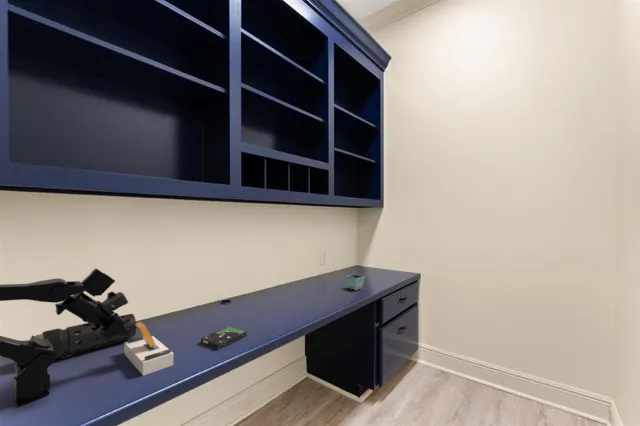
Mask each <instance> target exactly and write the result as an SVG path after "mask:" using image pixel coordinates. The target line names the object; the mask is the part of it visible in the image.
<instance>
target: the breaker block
mask: <svg viewBox="0 0 640 426" xmlns="http://www.w3.org/2000/svg"><path fill="white" fill-rule="evenodd" d="M150 335H151V337H152V339H153V340H154V342H155V346H156V348H155V349H153V348H152V347H150V346H149V345H148V344H147V343H146V342H145V340H144V339H143V337H142V335H140V336H138V337H132V338H131V339H129V340H127V341H125V342H124V346H123V347H124V348H123V349H124V350H123V351H124V356H126V358H127V359H128V360H129V361H130V363H131V364H132V365H133V366H134V367H135V368H136V369H137V371H138V372H139V373H140V374H141V375H142V376H146V375H150V374H151V373H152V374H153V373H155V372H157V371H160V370H163V369H166V368H169V367H171V366H174V352H173V351H172V349H171V348H168V347H167V346H166V345H165V344H163V343H162V342H161V341H159V339H157V338H156V337H155V336H154V335H153V333H150Z"/></svg>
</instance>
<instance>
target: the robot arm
mask: <svg viewBox="0 0 640 426" xmlns="http://www.w3.org/2000/svg"><path fill="white" fill-rule="evenodd" d="M115 282H116V280H115V279H114V278H112V277H111V276H109V275H108V274H107V273H105V272H102V271H101V270H100V269H98V268H94V269H92V271H91V272H90V274H88V275H87V276H86V277H85V278H84V279H82V281H77V280H75V281H71V280H70V281H66V280H65V279H63V278H51V279H45V280H44V279H43V280H39V281H35V282H30V283H29V282H28V283H11V284H10V283H8V284H7V283H6V284H0V302H3V301H4V302H5V301H22V300H23V301H24V300H25V301H26V300H27V301H34V302H42V303H55V304H54V306H55V313H56V315H57V316H60V315H61V314H63V312H64V311H65V310H66V311H68V312H69V313H71V314H72V315H74V316H76V317H77V318H80V319H81V320H82V322H85V323H89V324H91V325H93V326H94V327H95V328H96V329H99V328H100V327H101V335H102V336H103V337H104V338H106V339H107V340H110V339H111V338H112V337H113V336H114V335H121V336H128V335H129V334H130V332H129V331H128V330H127V329H126V328H125V327H124V326H123V325H124V324H125V323H126V321H125V320H124V319H123V318H122V317H121V316H122V315H119V314H118V313H117V312H115V311H117V309H119V308H121V307H123V306H125V305H127V304H129V300H128V298H127V297H126V295H125V294H124V293H123V292H122V291H120V292H119V291H118V292H117V293H116V292H114V291H110V292H108V293H107V294H106V295H107V296H106V299H105V300H103V301H102V302H101V301H100V300H95V299H94V298H92V297H99V296H102V295H103V294H104V293H105V292H106V291H107V290H108V289H109V288H110V287H111V286H112V285H113V284H114V283H115ZM85 292H86V293H87V294H89V295H90V296H92V297H90V296H89V295H87V294H86V293H85ZM0 357H1V358H6V359H10V360H11V361H13V362H15V363H16V364H15V365H14V367H15V369H14V370H15V376H13V378H12V395H11V396H10V400H11V401H12V402H13V404H14V405H15V406H16V407H22V406H23V405H25V404H26V405H27V404H28V403H31V402H35V401H36V400H39V399H42V398H45V397H47V396H49V395H50V394H51V392H50V389H51V375H50V373H48V372H49V370H48V368H49V367H50V366H53V365H52V364H54V363H55V361H56V359H57V358H56V352H55V350H54V348H53V345H52V344H51V343H49V340H48V339H40V338H38V337H36V335H31V336H30V339H29V340H27V339H26V340H19V339H18V340H17V339H14V338H10V337H7V336H3V335H0Z"/></svg>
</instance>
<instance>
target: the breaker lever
mask: <svg viewBox="0 0 640 426" xmlns="http://www.w3.org/2000/svg"><path fill="white" fill-rule="evenodd" d="M135 325H136V329H137V330H138V331H139V334H140V336H142V337H143V339H144V340H145V342H146V343H147V344H148V345H149V346H150V347H152V348H153V349H155V348H156V346H155V342H154V340H153V339H152V337H151V335H150V334H151V333H150V332H149V330H148V328H147V326H146V324H144V323H143V322H142V321H139V322H136V324H135Z"/></svg>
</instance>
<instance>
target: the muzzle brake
mask: <svg viewBox="0 0 640 426" xmlns="http://www.w3.org/2000/svg"><path fill="white" fill-rule="evenodd" d="M120 316H121V317H122V318H123V319H124V320H125V321H126V323H125V324H124V325H123V326H124V327H125V328H126V329H127V330H128V331H129V332H130V334H129V335H128V336H121V335H114V336H113V337H112V338H111V339H110V340H107V339H106V338H104V337H103V336H102V335H101V327H100V328H99V329H96V328H95V327H94V326H93V325H91V324H89V323H88V322H85V323H81V324H76V325H72V326H67V327H66V328H65V329H62V328H53V329H48V330H44V331H43V332H42V333H41V334H40V333H39V334H35V336H36V337H38V338H40V339H48V340H49V343H51V344H52V345H53V348H54V350H55V352H56V359H58V358H60V357H61V358H62V357H65V358H67V357H66V356H69V355H73V356H74V355H75V354H76V353H79V352H83V351H88V350H90V349H94V350H96V349H98V348H100V347H108V346H110V345H114V344H118V343H122V342H127V341H128V340H129V339H133V338H135V336H136V333H137V327H136V325H135V324H137V320H136V317H135V315H134V314H133V313H128V314H123V315H120ZM69 357H70V356H69ZM61 358H60V359H61ZM62 359H63V358H62Z"/></svg>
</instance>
